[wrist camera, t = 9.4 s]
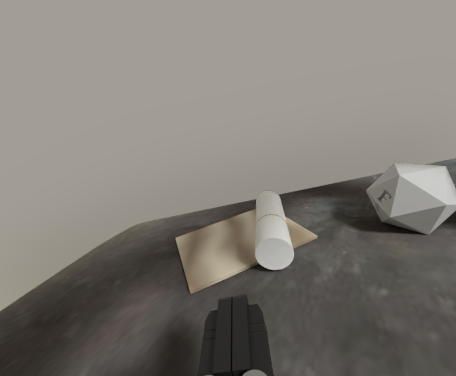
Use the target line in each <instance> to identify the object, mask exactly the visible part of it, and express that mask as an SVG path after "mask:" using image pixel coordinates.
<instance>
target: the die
mask: <svg viewBox="0 0 456 376" xmlns="http://www.w3.org/2000/svg"><path fill="white" fill-rule="evenodd" d="M366 192H367V194H368V196H369V198H370V200H371V202H372V204H373V206H374V208H375V210H376V212H377V214H378V216H379V218H380V220H381V222H384V223H388V224H391V225H395V226H398V227H402V228H405V229H409V230H413V231H416V232H420V233H423V234H427V235H429V234H430V233H431V232H432V231H433V230H434V229H436V228H437V227H438V226H439V225H440V224H441V223H442V222H444V221H445V220H446V219H447V218H448V217H449V216H450V215H451V214H453V213H454V212H455V211H456V188H455V186H454V184H453V182H452V180H451V177H450V175H449V173H448V171H447V169H446V166H434V165H417V164H402V163H394V164H393V165H392V166H391V167H390V168H389V169H388V170H387V171H386V172H384V173H383V174H382V175H381V176H380V177H379V178H378V179H377V180H376V181H375V182H374V183H373V184H372V185H371V186H370V187H369V188H368V189H367V190H366Z"/></svg>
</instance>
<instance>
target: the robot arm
mask: <svg viewBox="0 0 456 376" xmlns="http://www.w3.org/2000/svg"><path fill="white" fill-rule="evenodd" d="M198 376H274V375H273V369H272V363H271V356H270V350H269V343H268V337H267V331H266V326H265V322H264V317H263V313H262V311H261V309H260V308H259V306H258V305H257V304H254V305H249V303H248V299H247V296H246V295H240V296H233V297H227V298H220V299H219V301H218V310H214V311H210V313H209V315H208V317H207V319H206V321H205V328H204V336H203V343H202V350H201V358H200V365H199V372H198Z"/></svg>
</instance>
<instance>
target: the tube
mask: <svg viewBox="0 0 456 376" xmlns="http://www.w3.org/2000/svg"><path fill="white" fill-rule="evenodd" d="M255 257H256V260H257V261H258V263H259V264H260V265H261V266H263V267H265V268H267V269H270V270H280V269H283V268H285V267H287V266H288V265H289V264H290V263H291V262H292V260H293V258H294V251H293V247H292V243H291V239H290V235H289V231H288V227H287V223H286V219H285V215H284V211H283V207H282V203H281V199H280V197H279V195H278V194H277V193H276V192H274V191H270V190H267V191H263V192H261V193H260V194H259V195H258V197H257V199H256V234H255Z"/></svg>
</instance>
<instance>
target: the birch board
mask: <svg viewBox="0 0 456 376" xmlns="http://www.w3.org/2000/svg"><path fill="white" fill-rule="evenodd" d="M285 219H286V223H287V227H288V231H289V235H290V239H291V243H292V247H293V249H294V248H296V247H298V246H301V245H303V244H305V243H307V242H310V241H312V240H314V239H316V238H317V235H315V234H314V233H312V232H310V231H308V230H307V229H305V228H303V227H302V226H300V225H298V224H297V223H295V222H293V221H292V220H290V219H288V218H286V217H285ZM255 234H256V209H254V210H251V211H248V212H245V213H243V214H240V215H237V216H234V217H232V218H229V219H226V220H223V221H221V222H218V223H215V224H212V225H210V226H207V227H204V228H201V229H199V230H196V231H193V232H190V233H188V234H185V235H182V236H179V237H177V238H175V239H176V242H177V246H178V250H179V253H180V257H181V261H182V264H183V268H184V272H185V275H186V279H187V283H188V286H189V290H190V293H191V294H193V293H195V292H197V291H199V290H202V289H204V288H206V287H208V286H211V285H213V284H215V283H217V282H220V281H222V280H224V279H226V278H229V277H231V276H233V275H235V274H238V273H240V272H242V271H244V270H247V269H249V268H251V267H253V266H256V265H258V264H259V263H258V261H257V260H256V257H255Z"/></svg>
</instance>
